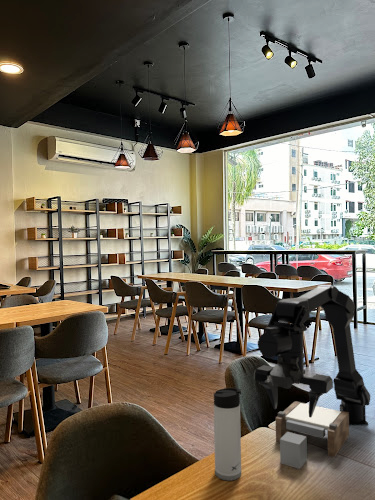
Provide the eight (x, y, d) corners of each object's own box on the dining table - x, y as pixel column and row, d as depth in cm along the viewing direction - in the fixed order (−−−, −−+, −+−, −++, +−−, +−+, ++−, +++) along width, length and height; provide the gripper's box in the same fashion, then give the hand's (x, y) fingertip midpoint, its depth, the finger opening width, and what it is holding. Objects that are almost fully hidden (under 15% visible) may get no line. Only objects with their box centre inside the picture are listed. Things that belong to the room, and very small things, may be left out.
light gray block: (287, 454, 104) (287, 431, 104) (306, 460, 101) (306, 436, 101) (280, 463, 100) (279, 439, 100) (299, 469, 97) (299, 444, 97)
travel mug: (241, 482, 92) (240, 395, 92) (213, 479, 93) (211, 393, 93) (243, 468, 98) (242, 386, 98) (216, 465, 99) (215, 384, 99)
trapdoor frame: (295, 422, 123) (295, 398, 123) (349, 435, 114) (348, 409, 114) (275, 441, 111) (275, 415, 111) (334, 457, 102) (333, 428, 102)
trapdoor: (300, 411, 122) (300, 402, 122) (341, 420, 115) (341, 411, 115) (282, 428, 110) (282, 418, 110) (327, 439, 103) (326, 429, 103)
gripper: (243, 351, 100) (244, 414, 99) (318, 363, 89) (319, 433, 88) (262, 343, 109) (263, 401, 108) (333, 352, 98) (334, 417, 97)
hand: (292, 412), depth 100 cm, fingers open, 9 cm apart
